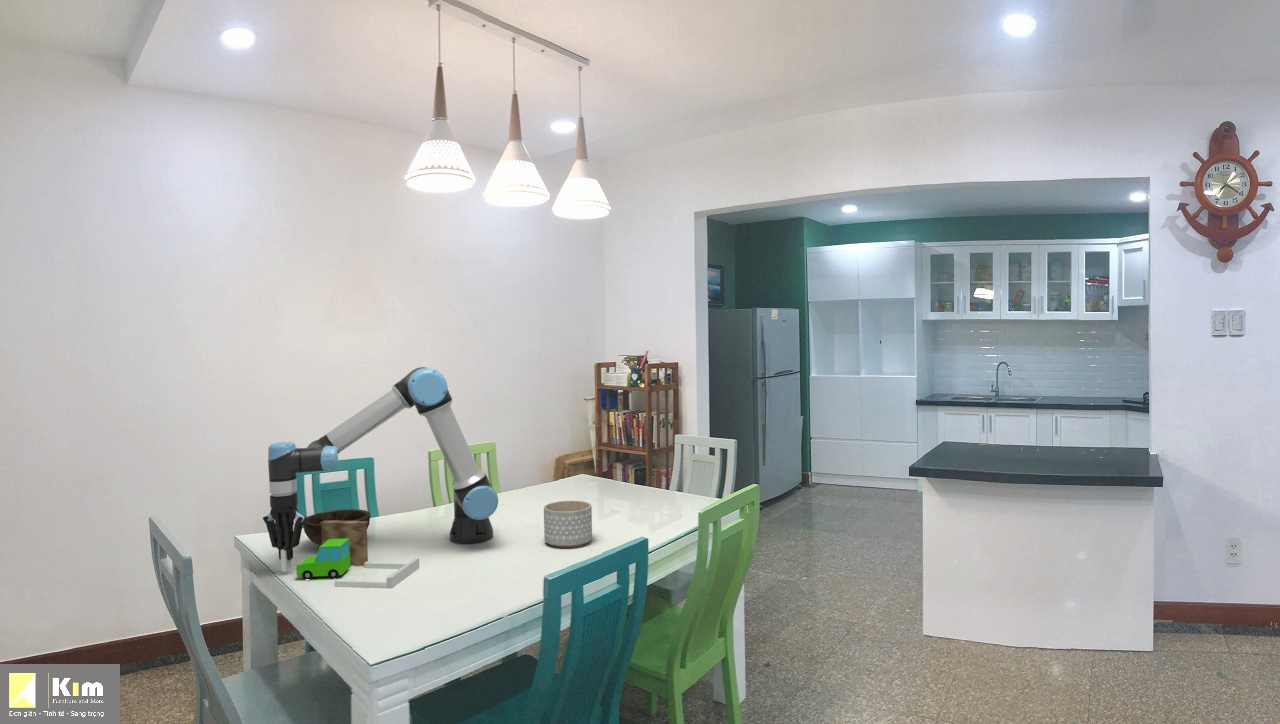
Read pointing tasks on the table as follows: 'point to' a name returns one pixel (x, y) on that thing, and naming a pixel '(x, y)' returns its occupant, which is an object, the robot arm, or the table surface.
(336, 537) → the brown textured panel
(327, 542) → the toy car
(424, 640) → the table surface
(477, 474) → the robot arm
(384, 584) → the bay
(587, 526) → the planter
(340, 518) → the bowl
